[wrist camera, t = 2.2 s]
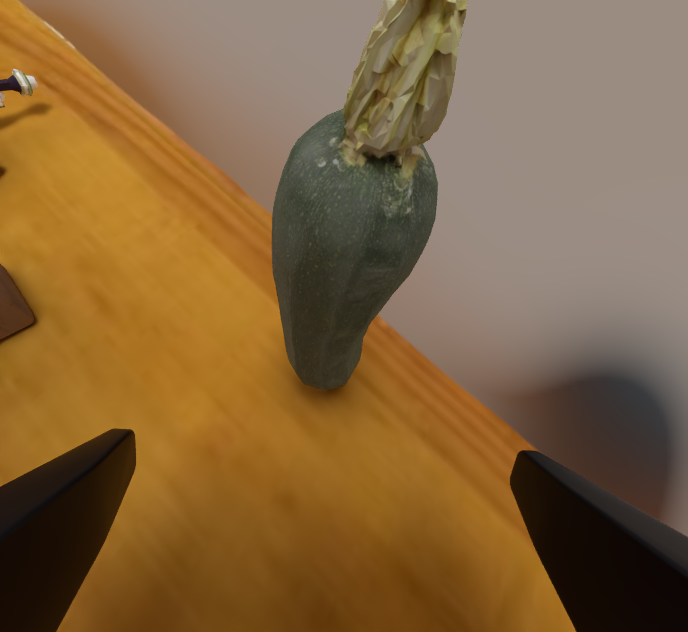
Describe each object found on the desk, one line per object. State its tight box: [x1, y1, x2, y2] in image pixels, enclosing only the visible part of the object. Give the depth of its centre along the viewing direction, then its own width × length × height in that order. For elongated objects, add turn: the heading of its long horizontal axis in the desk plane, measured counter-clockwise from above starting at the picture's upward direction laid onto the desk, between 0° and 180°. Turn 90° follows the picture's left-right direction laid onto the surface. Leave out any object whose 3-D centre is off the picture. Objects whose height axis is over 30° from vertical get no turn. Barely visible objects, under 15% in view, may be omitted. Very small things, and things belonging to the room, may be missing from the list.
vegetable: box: [272, 0, 467, 390], centre depth 14 cm, size 4×4×20 cm
